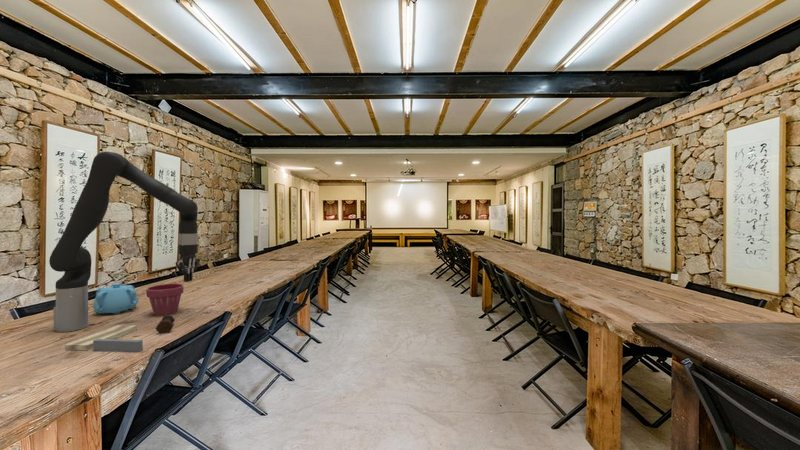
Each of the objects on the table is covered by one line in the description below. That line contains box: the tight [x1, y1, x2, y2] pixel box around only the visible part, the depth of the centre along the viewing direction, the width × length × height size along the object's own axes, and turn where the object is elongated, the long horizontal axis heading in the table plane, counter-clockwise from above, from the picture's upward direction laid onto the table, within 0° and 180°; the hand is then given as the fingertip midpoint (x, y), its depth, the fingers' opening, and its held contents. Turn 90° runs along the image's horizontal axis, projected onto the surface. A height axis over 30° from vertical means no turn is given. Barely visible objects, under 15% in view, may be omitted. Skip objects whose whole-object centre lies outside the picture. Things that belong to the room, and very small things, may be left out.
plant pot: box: [146, 283, 184, 317], centre depth 152 cm, size 14×14×13 cm
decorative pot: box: [92, 282, 139, 315], centre depth 154 cm, size 16×16×14 cm
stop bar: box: [92, 338, 144, 353], centre depth 110 cm, size 16×2×4 cm, turn 89°
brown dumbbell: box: [155, 314, 175, 335], centre depth 132 cm, size 6×5×15 cm
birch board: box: [64, 324, 138, 351], centre depth 119 cm, size 8×20×2 cm, turn 179°
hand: (188, 281), depth 145 cm, fingers closed
